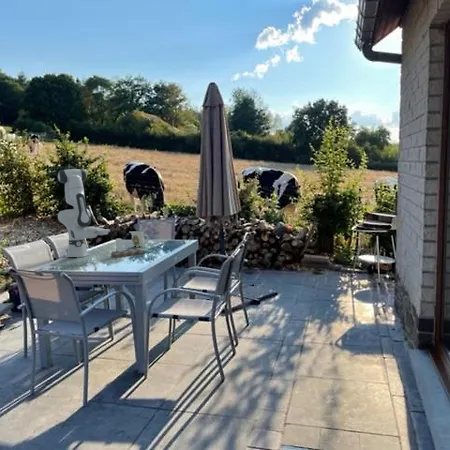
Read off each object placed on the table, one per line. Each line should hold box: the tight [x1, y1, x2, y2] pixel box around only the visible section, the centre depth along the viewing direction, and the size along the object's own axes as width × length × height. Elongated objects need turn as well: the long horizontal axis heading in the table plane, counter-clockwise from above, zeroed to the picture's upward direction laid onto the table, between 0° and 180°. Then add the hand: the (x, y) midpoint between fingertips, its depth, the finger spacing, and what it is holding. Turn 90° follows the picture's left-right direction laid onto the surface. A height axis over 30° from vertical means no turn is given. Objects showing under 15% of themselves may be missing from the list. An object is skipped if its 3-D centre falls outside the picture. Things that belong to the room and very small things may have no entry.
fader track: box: [110, 247, 145, 259], centre depth 383 cm, size 25×10×4 cm, turn 124°
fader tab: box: [115, 238, 124, 253], centre depth 379 cm, size 4×6×12 cm, turn 34°
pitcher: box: [129, 230, 149, 248], centre depth 423 cm, size 11×18×14 cm, turn 79°
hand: (109, 230), depth 373 cm, fingers closed
